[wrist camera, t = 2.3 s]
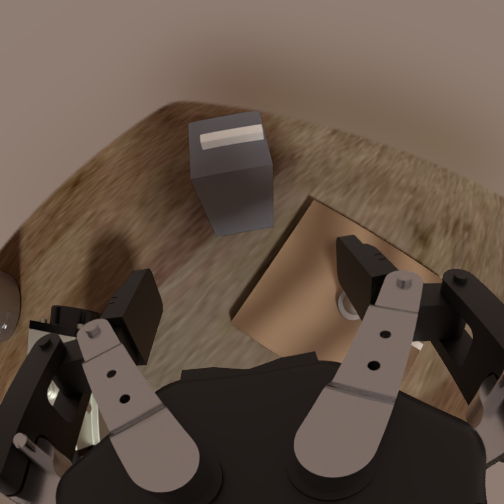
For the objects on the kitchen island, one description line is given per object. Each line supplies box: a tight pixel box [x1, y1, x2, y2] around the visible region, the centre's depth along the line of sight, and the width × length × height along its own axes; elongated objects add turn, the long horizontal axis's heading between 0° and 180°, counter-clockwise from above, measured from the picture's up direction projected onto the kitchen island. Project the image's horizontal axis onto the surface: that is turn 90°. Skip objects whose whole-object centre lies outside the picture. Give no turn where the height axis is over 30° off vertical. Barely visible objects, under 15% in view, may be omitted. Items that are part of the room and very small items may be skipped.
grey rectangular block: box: [188, 111, 274, 237], centre depth 24 cm, size 6×6×11 cm
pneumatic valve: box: [28, 305, 110, 465], centre depth 18 cm, size 6×12×12 cm, turn 0°
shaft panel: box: [231, 200, 442, 389], centre depth 22 cm, size 16×14×6 cm
